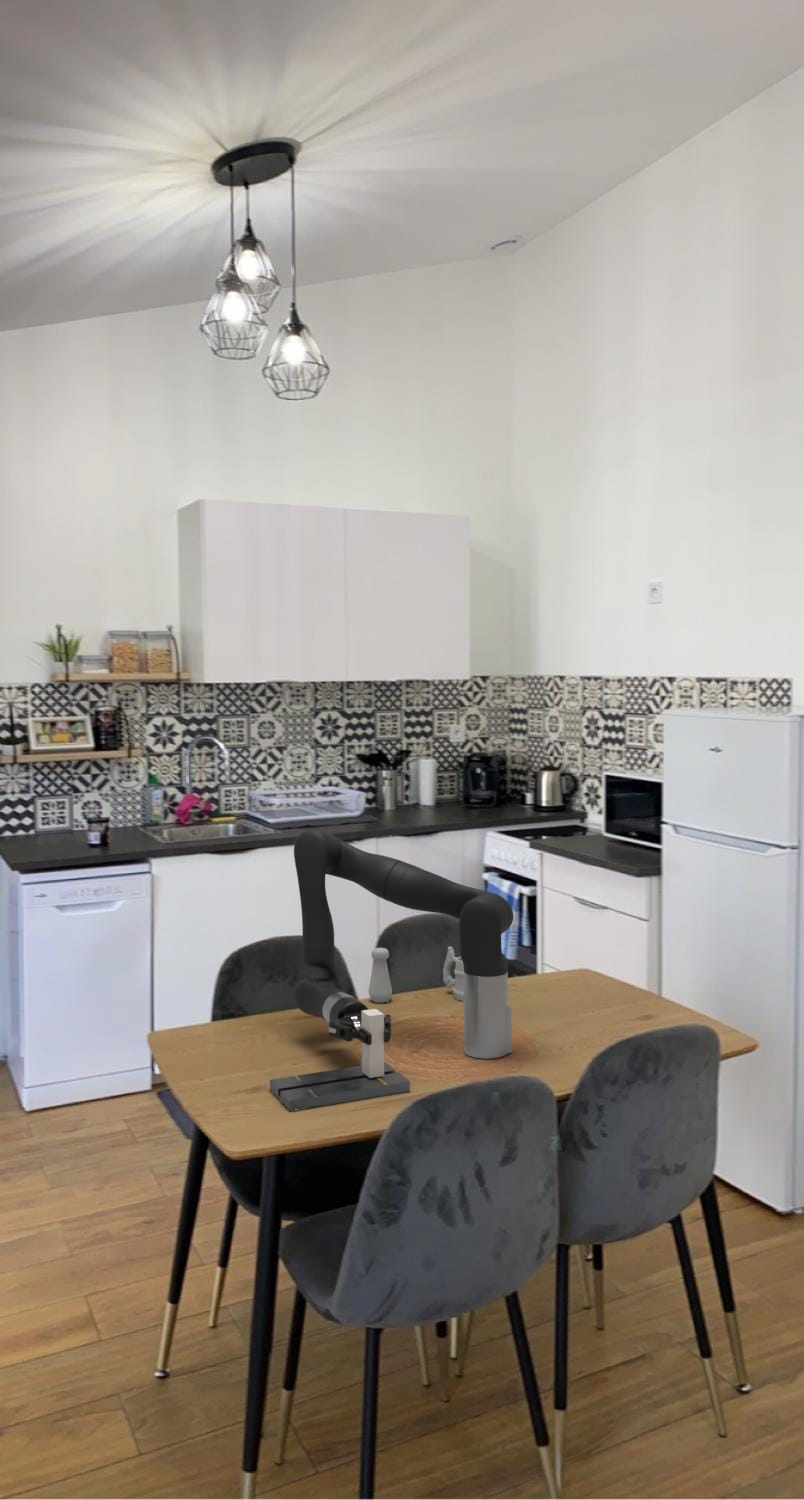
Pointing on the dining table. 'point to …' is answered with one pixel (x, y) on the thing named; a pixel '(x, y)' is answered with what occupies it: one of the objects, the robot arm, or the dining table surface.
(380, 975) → the salt shaker
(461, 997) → the mug
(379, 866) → the robot arm
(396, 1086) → the mixer console
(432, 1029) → the dining table surface
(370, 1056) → the slider handle
